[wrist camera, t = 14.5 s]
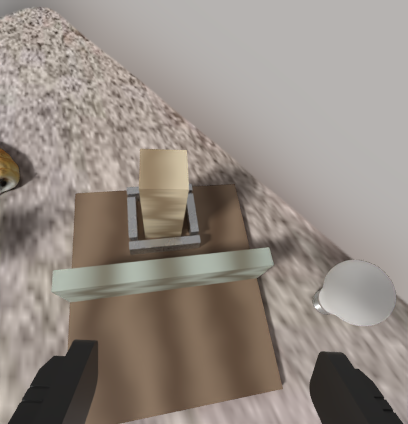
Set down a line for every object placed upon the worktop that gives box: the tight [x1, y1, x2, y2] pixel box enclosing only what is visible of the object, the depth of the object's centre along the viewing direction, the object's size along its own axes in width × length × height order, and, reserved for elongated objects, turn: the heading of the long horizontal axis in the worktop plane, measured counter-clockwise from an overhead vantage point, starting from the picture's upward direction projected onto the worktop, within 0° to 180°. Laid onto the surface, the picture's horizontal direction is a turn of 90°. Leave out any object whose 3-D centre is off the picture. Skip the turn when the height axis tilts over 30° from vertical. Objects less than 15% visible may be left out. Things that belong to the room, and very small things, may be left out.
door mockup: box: [52, 184, 283, 424], centre depth 31 cm, size 22×26×7 cm
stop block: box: [139, 149, 189, 238], centre depth 32 cm, size 4×4×12 cm
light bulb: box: [312, 260, 396, 326], centre depth 31 cm, size 7×7×11 cm
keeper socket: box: [127, 184, 201, 255], centre depth 36 cm, size 8×8×2 cm
